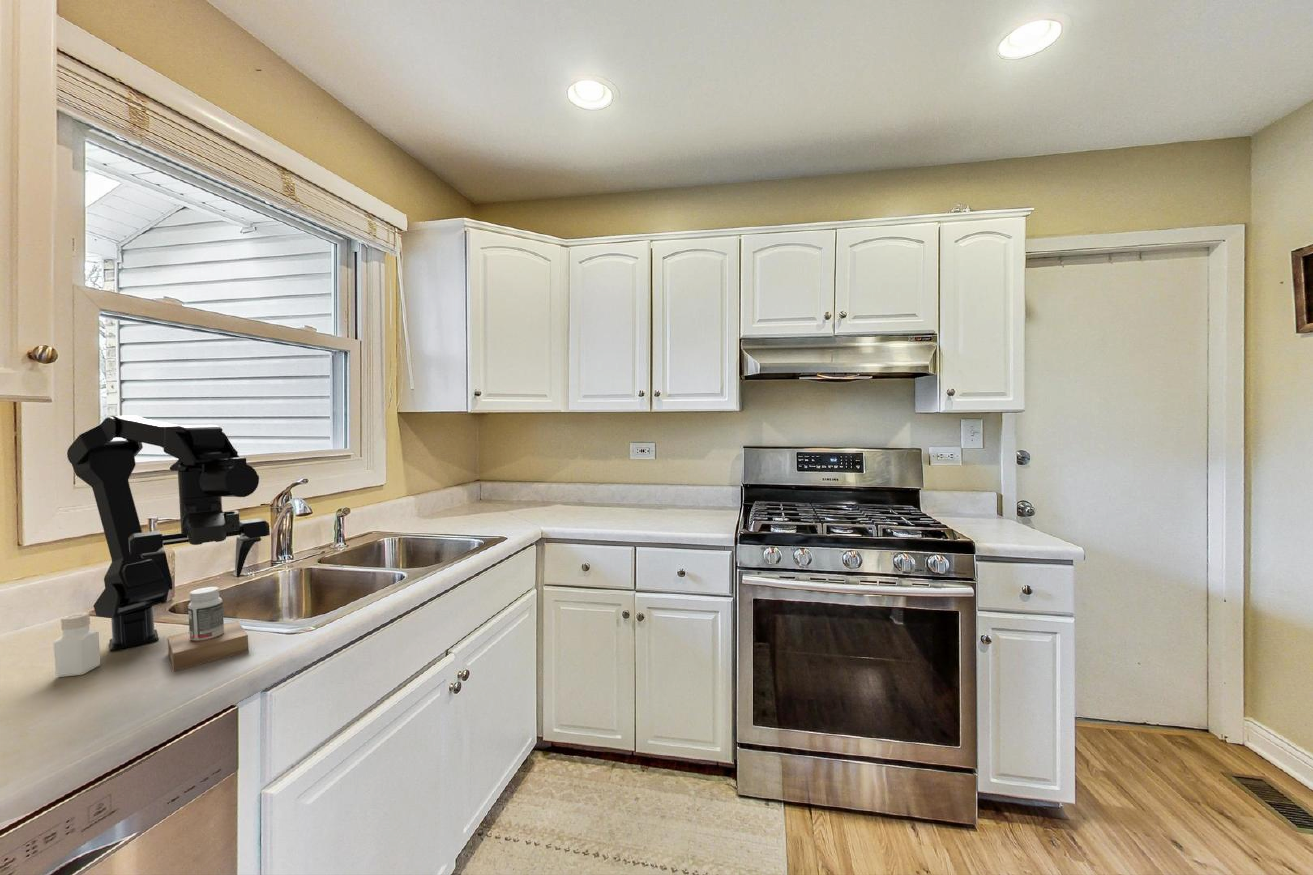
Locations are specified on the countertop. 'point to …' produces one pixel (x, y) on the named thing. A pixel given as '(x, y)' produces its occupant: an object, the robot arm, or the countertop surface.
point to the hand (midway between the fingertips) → (205, 582)
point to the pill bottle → (205, 614)
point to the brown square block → (207, 647)
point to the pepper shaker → (76, 646)
